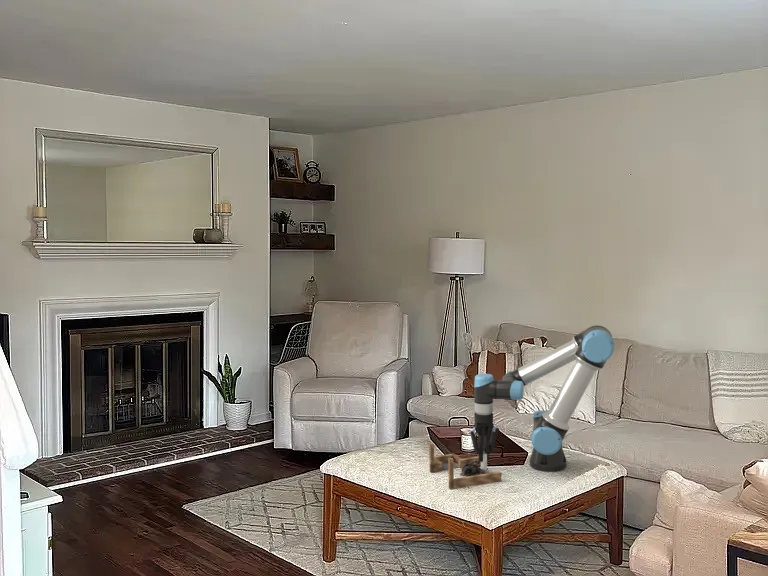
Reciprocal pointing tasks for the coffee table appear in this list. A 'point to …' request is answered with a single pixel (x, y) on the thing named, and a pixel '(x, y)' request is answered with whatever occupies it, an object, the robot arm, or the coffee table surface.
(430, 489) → the coffee table surface
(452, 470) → the wooden rail pieces
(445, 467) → the mat
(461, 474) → the stuffed animal
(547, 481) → the coffee table surface
